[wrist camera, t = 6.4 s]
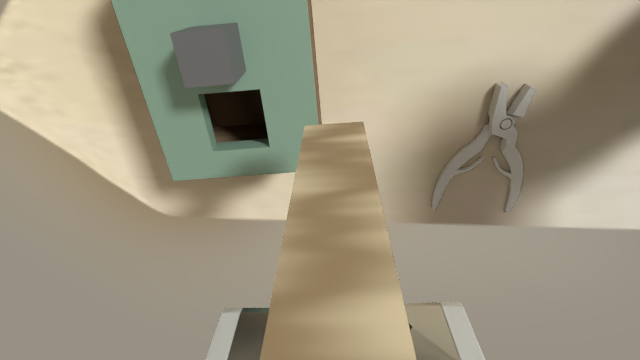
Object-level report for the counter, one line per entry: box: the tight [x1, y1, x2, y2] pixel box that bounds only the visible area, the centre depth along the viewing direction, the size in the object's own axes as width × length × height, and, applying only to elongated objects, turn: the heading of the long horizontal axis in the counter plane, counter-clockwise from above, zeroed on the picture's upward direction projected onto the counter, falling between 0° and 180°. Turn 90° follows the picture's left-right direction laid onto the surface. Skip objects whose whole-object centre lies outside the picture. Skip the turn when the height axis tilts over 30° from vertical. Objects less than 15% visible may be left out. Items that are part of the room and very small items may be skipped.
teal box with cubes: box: [111, 0, 319, 181], centre depth 22 cm, size 12×18×6 cm, turn 5°
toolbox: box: [204, 0, 322, 143], centre depth 27 cm, size 12×18×9 cm, turn 5°
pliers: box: [432, 82, 536, 212], centre depth 37 cm, size 10×2×15 cm
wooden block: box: [260, 122, 417, 360], centre depth 13 cm, size 3×3×13 cm
